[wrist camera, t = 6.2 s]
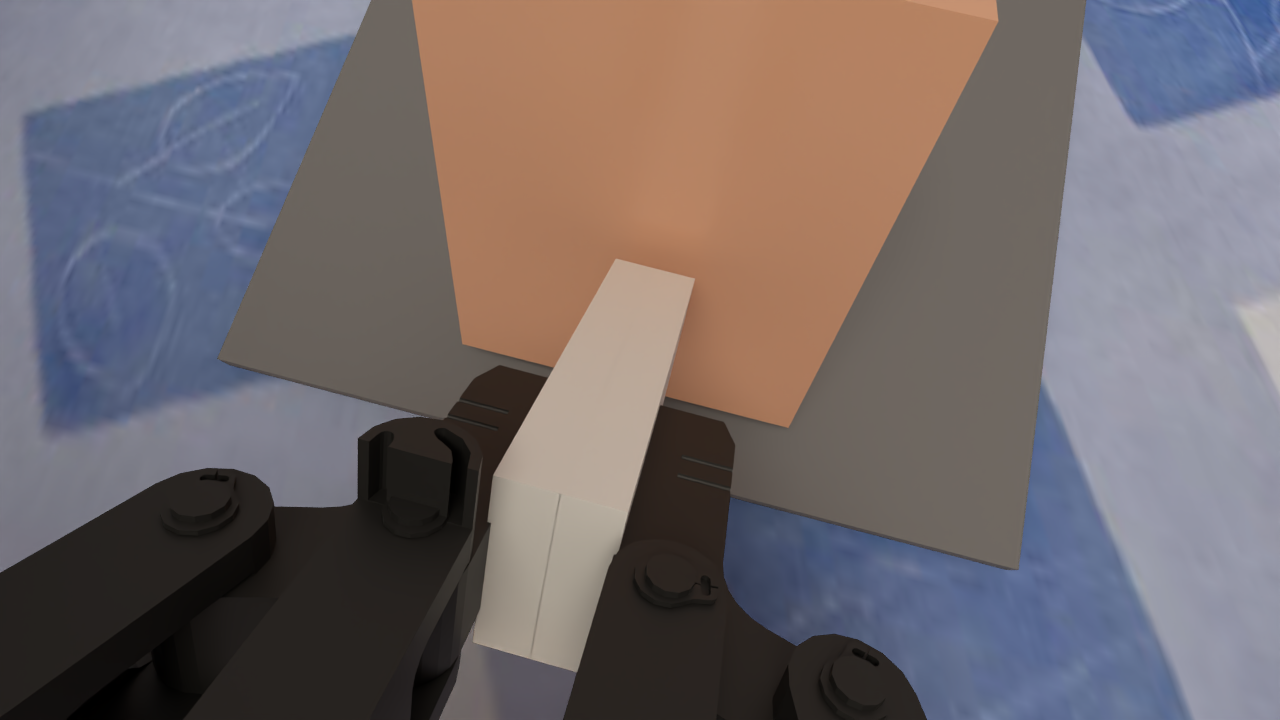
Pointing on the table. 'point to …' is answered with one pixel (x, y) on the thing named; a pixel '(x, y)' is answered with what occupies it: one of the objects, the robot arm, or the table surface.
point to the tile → (685, 166)
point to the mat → (764, 453)
